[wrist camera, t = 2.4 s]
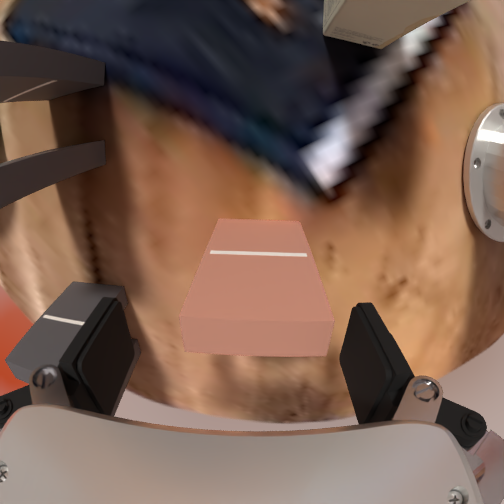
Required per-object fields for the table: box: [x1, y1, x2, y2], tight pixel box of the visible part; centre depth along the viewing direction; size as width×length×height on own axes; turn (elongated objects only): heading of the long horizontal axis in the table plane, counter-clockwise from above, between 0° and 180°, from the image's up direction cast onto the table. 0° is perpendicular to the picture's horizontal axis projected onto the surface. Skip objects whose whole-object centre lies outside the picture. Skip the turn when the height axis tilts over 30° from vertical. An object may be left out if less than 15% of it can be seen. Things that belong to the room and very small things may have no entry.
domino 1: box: [0, 41, 105, 103], centre depth 11 cm, size 2×6×11 cm, turn 89°
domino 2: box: [0, 140, 106, 209], centre depth 13 cm, size 2×6×11 cm, turn 89°
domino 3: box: [5, 282, 128, 383], centre depth 18 cm, size 2×6×11 cm, turn 89°
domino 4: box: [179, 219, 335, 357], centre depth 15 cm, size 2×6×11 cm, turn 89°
